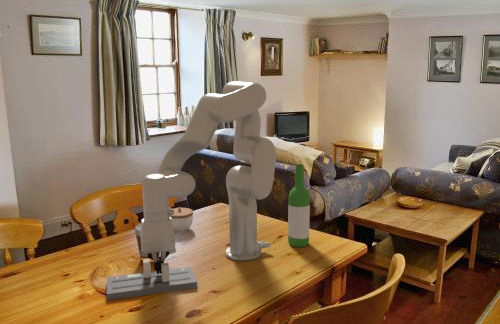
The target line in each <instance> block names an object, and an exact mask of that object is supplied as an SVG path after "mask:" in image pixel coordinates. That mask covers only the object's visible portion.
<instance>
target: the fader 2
mask: <svg viewBox="0 0 500 324" xmlns="http://www.w3.org/2000/svg"><path fill="white" fill-rule="evenodd" d="M169 270H170V266H169V262H164V263H161V271H162V281H163V282H169Z"/></svg>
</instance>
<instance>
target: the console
mask: <svg viewBox="0 0 500 324" xmlns="http://www.w3.org/2000/svg"><path fill="white" fill-rule="evenodd" d="M192 289H198V281H197V278H196V276H195V272H194V270H193V268H192V266H187V267H179V268H171V269H170V268H169V282H163V281H162V274H161V273H160V274H157V271H154V270H153V271H151V277H149V278H144V272H140V273H139V272H138V273H131V274H124V275H116V276H107V277H106V300H107V301H112V300H113V301H114V300H120V299H127V298H134V297H141V296H148V295H149V296H151V295H156V294H162V293H170V292H178V291H184V290H192Z"/></svg>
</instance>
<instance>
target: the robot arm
mask: <svg viewBox="0 0 500 324" xmlns="http://www.w3.org/2000/svg"><path fill="white" fill-rule="evenodd" d="M266 100H267V91H266V90H265V87H264V86H263V85H262V84H260V83H258V82H254V81H253V82H252V81H251V82H249V81H230V82H226V83H225V85H224V86H223V88H222V93H206V94H204V95H203V96H201V98H200V99H199V100H198V103H197V105H196V106H195V109H194V112H193V114H192V116H191V118H190V120H189V122H188V125H187V127H186V130H185V132H184V133H183V135H182V136H181V138H179V139H178V140H177V141H176V142H175V143H174V144H173V145H172V147H170V149H168V151H167V152H166V154H165V155H164V156H163V159H162V161H161V164H160V166H159V168H158V171H157V173H151V174H146V175H145V176H143V178H142V179H141V185H142V188H141V189H142V202H143V203H142V204H143V205H142V206H143V218H142V219H141V221H140V224H141V231H140V240H141V253H139V255H140V254H141V256H143V257H149V258H150V259H152V260H153V261H154V262H153V272H154V271H157V274H160V273H161V274H162V271H161V263H165V261H166V259H167V258H168V256H170V255H172V254H175V253H176V252H177V249H176V237H175V235H176V234H175V232H174V228H173V221H172V218H171V217H170V215H173V214H174V210H170V209H171V208H170V201H169V198H184V197H185V198H186V197H187V196H190V195H191V194H192V193H193V192H194V190H195V189H196V180H195V178H194V177H193V176H192V174H190V173H188V172H185V171H183V170H182V168H183V166H184V165H185V163H186V162H187V160H188V159H189V158H191V157H192V156H193V155H195V154H197V153H199V152H202V151H204V150H205V149H207V148H209V146H210V144H211V142H212V140H213V138H214V135H215V133H216V131H217V128H218V126H219V124H220V123H224V124H225V123H232V122H235V130H234V139H233V147H232V149H233V150H232V152H233V156H234V158H235V159H236V160H237V161H239V162H241V163H245V164H250V166H247V165H236V166H233V167H231V168H230V169H229V170H228V171H227V173H226V177H225V185H226V190H227V194H228V207H229V208H228V210H229V211H228V215H229V216H228V218H229V223H228V224H229V246H228V247H227V248H226V249H225V256H226V257H227V258H228V259H231V260H232V261H240V262H244V261H246V262H247V261H252V260H255V259H258V258H260V256H261V255H262V249H263V248H264V249H265V248H267V249H268V248H271V242H270V241H268V242H267V241H266V242H265V240H259V241H258V226H257V224H258V222H257V221H258V219H257V218H258V217H257V216H258V213H257V212H258V210H257V209H258V205H257V200H264V199H266V198H267V197H268V196H269V195H270V194H271V192H272V189H273V185H274V178H275V171H276V170H275V169H276V161H277V150H276V146H275V145H274V142H273V141H272V140H271V139H269V138H267V137H264V136H263V137H262V136H261V127H262V120H261V114H260V111H259V109H261V108H262V107H263V106H264V104H265V103H266ZM157 252H160V257H159V260H158V257H156V253H157Z"/></svg>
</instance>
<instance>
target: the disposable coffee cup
mask: <svg viewBox="0 0 500 324" xmlns="http://www.w3.org/2000/svg"><path fill="white" fill-rule="evenodd" d="M140 231H141V223H138V224H137V225H136V226H135V227H134V230H133V232H134V234H135V237H136V242H137V247H138V248H137V249H138V253H139V258H140V257H141V258H149V257H143V256H141V254H140V253H141V240H140ZM160 254H161V252H157V253H156V257H158V259H159V257H160ZM141 258H140V259H141Z"/></svg>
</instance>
